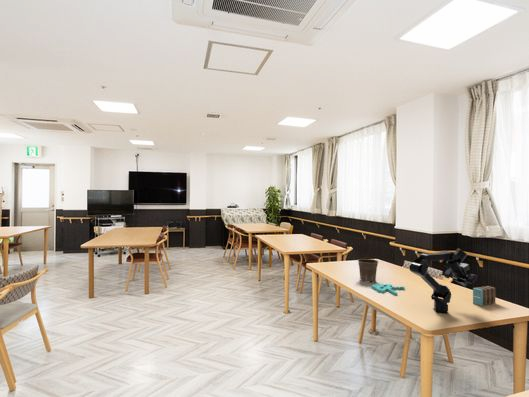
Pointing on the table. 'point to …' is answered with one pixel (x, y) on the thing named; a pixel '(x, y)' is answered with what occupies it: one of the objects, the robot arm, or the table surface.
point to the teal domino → (478, 296)
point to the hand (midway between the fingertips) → (465, 286)
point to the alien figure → (386, 288)
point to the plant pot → (368, 269)
